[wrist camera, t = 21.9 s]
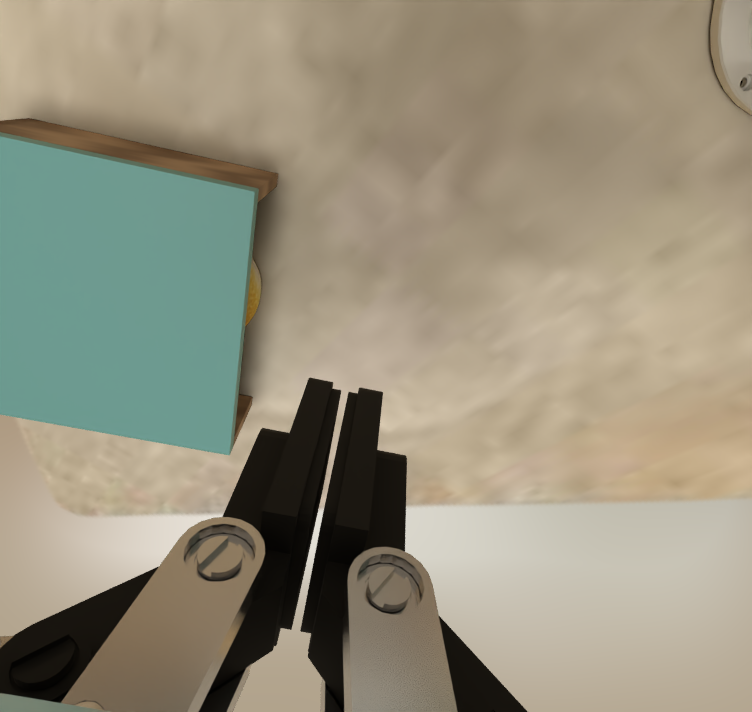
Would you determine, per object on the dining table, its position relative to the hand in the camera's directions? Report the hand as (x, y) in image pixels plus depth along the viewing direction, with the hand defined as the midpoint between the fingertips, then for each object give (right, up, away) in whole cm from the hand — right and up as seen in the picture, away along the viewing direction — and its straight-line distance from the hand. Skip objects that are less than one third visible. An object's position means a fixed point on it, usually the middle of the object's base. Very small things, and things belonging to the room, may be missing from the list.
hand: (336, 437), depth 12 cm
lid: (-15, +5, +21) cm, 26 cm away
